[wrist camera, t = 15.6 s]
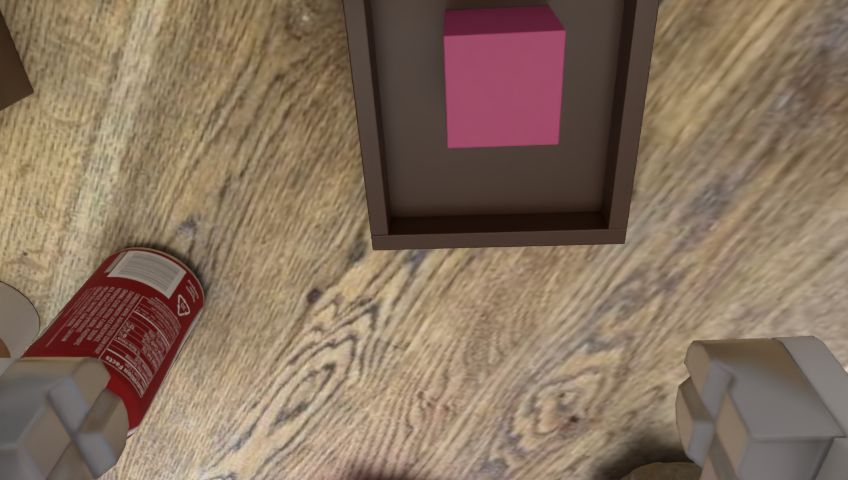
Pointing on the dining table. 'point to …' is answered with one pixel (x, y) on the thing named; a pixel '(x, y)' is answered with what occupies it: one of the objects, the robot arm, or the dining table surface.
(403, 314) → the dining table surface
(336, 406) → the dining table surface
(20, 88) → the walnut block
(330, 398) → the dining table surface
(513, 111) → the pink block
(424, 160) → the tray
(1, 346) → the coffee cup
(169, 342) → the soda can
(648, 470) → the bowl
